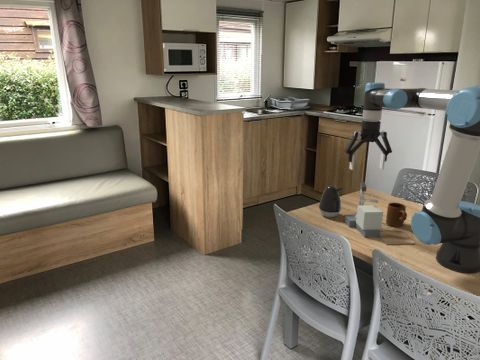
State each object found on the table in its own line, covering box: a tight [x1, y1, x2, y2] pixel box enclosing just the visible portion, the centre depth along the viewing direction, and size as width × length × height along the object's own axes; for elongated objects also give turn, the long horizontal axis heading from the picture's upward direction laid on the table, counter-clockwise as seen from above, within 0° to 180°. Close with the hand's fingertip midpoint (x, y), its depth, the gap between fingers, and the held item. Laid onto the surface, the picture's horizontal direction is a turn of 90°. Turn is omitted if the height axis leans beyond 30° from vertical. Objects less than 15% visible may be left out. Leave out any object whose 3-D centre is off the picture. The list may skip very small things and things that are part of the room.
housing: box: [343, 213, 381, 238], centre depth 170 cm, size 18×12×4 cm, turn 5°
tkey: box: [358, 181, 379, 206], centre depth 172 cm, size 8×8×15 cm
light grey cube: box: [356, 204, 384, 231], centre depth 164 cm, size 8×8×8 cm
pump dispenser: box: [318, 185, 344, 219], centre depth 183 cm, size 10×10×15 cm
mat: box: [378, 230, 416, 246], centre depth 161 cm, size 12×12×1 cm
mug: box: [385, 202, 408, 228], centre depth 172 cm, size 12×8×9 cm, turn 6°
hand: (366, 169), depth 167 cm, fingers open, 13 cm apart
